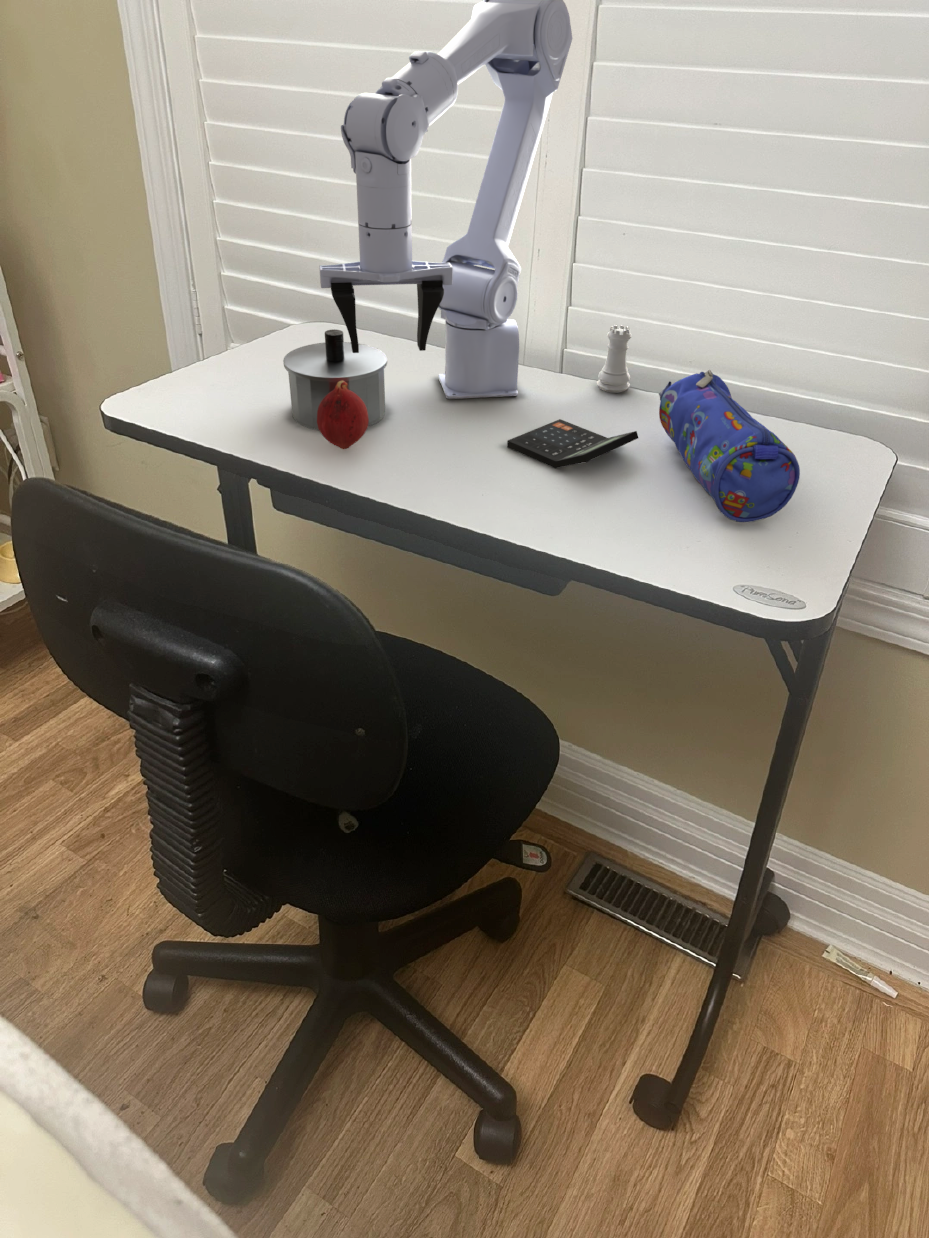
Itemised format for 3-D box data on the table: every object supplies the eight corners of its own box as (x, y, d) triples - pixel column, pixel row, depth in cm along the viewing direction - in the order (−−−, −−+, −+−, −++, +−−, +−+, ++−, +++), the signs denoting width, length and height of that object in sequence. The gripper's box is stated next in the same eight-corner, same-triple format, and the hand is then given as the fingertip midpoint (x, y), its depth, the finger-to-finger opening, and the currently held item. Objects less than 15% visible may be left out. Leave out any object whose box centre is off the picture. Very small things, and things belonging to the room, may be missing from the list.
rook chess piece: (635, 385, 122) (643, 326, 117) (621, 396, 119) (629, 335, 114) (605, 378, 124) (611, 320, 119) (590, 388, 121) (597, 329, 116)
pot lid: (382, 348, 115) (381, 314, 112) (392, 384, 105) (391, 348, 102) (283, 352, 113) (280, 317, 110) (284, 388, 103) (280, 351, 101)
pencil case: (649, 439, 108) (661, 361, 102) (719, 437, 109) (734, 359, 103) (710, 530, 90) (728, 442, 85) (792, 527, 91) (816, 439, 85)
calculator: (559, 425, 111) (561, 402, 109) (635, 456, 104) (639, 432, 102) (507, 447, 105) (508, 423, 103) (584, 481, 99) (587, 455, 97)
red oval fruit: (361, 462, 101) (357, 394, 96) (312, 457, 102) (306, 389, 97) (375, 441, 106) (373, 375, 101) (328, 436, 107) (324, 370, 102)
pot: (380, 394, 118) (378, 345, 114) (389, 429, 109) (387, 378, 105) (291, 397, 116) (287, 348, 112) (293, 434, 107) (288, 382, 103)
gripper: (318, 233, 92) (326, 363, 100) (458, 231, 94) (455, 358, 102) (315, 218, 98) (324, 342, 106) (447, 216, 100) (446, 338, 108)
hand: (388, 349), depth 104 cm, fingers open, 7 cm apart
